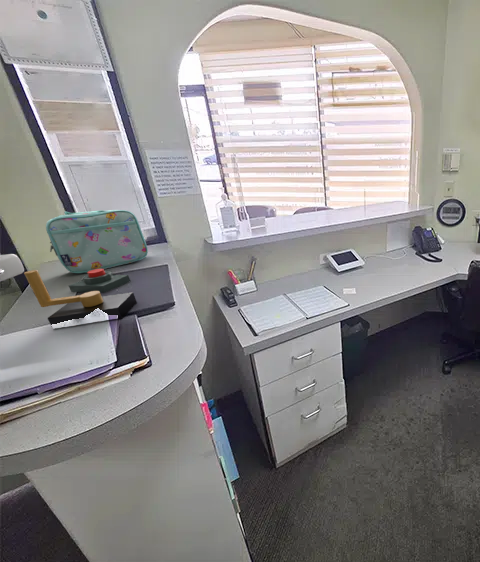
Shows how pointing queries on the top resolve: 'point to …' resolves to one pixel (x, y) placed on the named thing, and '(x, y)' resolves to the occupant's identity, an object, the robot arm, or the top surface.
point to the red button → (96, 273)
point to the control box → (99, 283)
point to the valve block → (110, 305)
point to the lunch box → (96, 239)
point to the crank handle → (45, 299)
